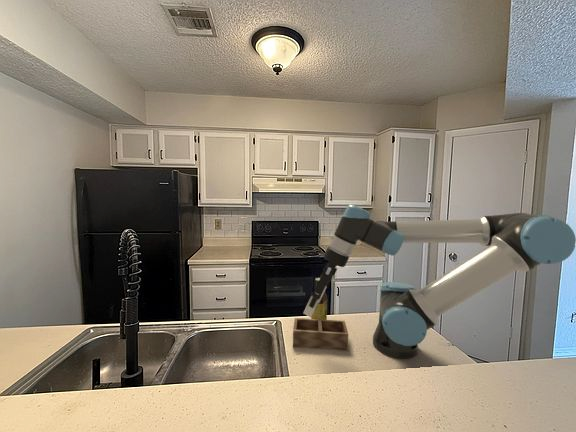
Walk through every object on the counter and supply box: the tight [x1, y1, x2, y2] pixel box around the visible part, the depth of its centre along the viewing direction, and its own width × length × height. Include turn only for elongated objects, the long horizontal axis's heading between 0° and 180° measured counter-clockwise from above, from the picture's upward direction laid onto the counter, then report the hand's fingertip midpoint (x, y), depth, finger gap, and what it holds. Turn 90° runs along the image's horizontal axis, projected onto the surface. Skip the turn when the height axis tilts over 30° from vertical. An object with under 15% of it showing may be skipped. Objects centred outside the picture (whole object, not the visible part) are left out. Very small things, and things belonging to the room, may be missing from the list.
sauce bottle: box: [310, 277, 328, 320], centre depth 112 cm, size 6×6×20 cm
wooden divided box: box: [292, 317, 349, 352], centre depth 102 cm, size 19×10×6 cm, turn 85°
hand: (311, 307), depth 92 cm, fingers open, 13 cm apart
